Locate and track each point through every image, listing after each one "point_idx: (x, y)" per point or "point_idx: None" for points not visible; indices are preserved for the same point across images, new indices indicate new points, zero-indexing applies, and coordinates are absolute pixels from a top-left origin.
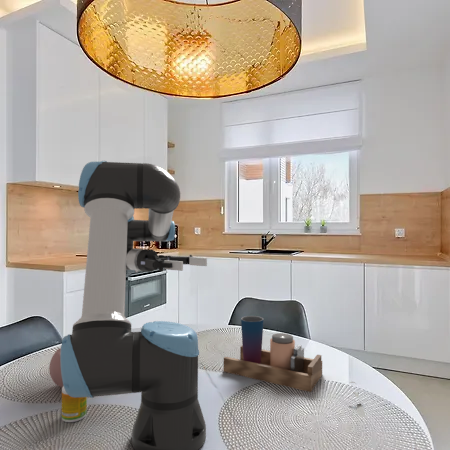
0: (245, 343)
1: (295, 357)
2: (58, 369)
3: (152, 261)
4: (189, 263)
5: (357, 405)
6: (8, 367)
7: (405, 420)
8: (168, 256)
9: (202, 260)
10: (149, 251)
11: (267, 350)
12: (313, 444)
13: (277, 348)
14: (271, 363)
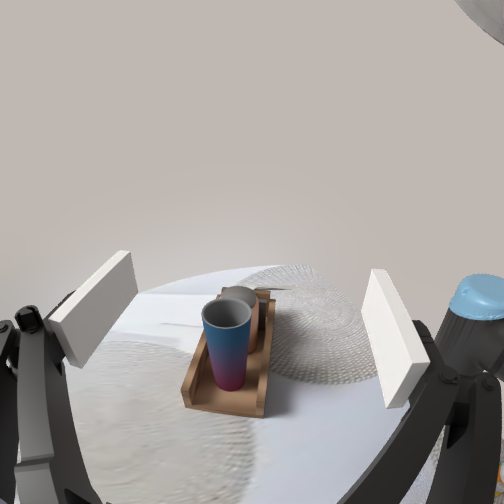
0: (246, 353)
1: (261, 299)
2: None
3: (499, 407)
4: (78, 360)
5: (277, 287)
6: None
7: (281, 269)
8: (56, 490)
9: (122, 276)
10: None
11: (196, 349)
12: (357, 306)
13: (258, 309)
14: (251, 338)
